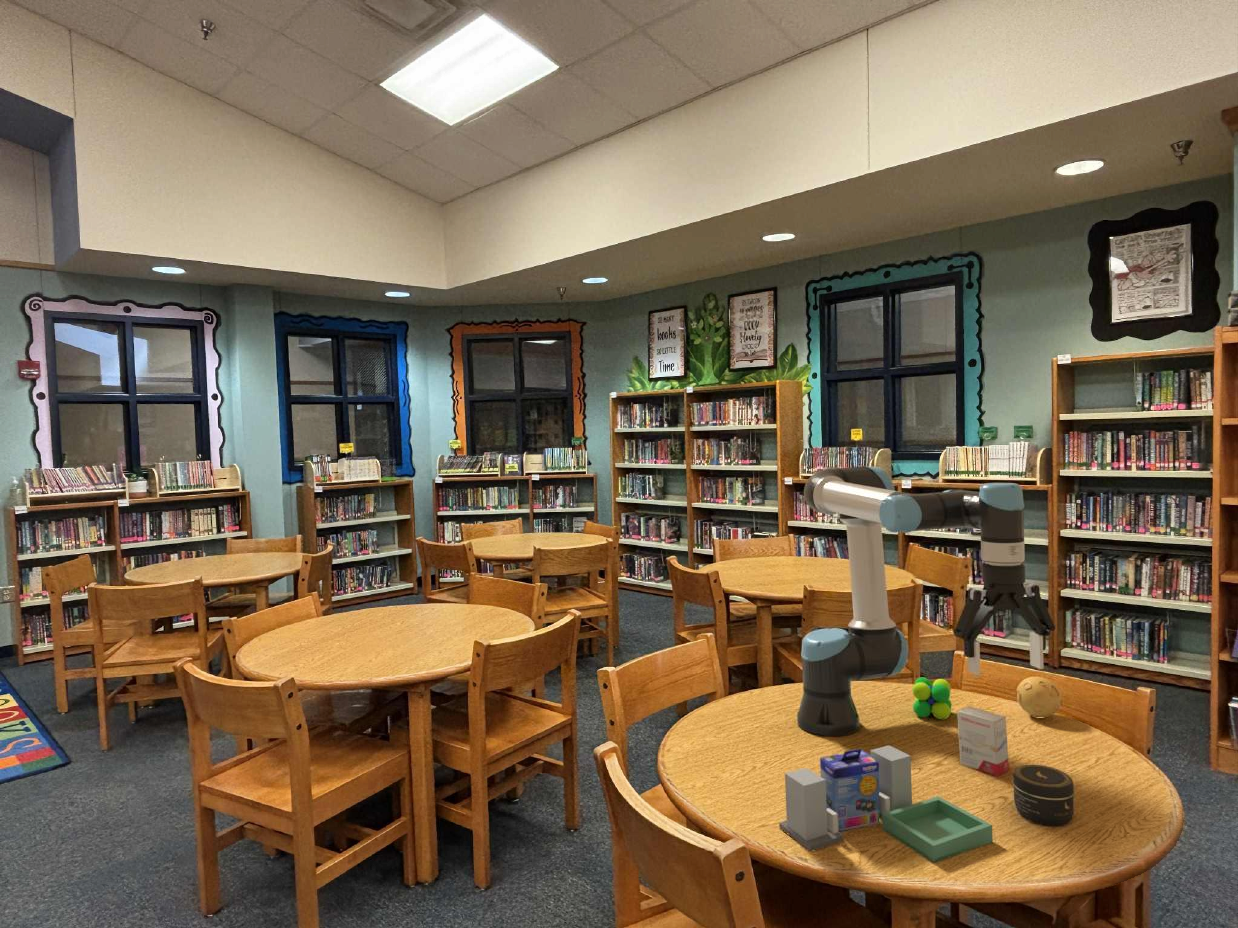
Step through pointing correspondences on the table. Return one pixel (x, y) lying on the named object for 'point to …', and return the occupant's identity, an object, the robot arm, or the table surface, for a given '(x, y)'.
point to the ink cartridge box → (852, 788)
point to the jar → (1043, 795)
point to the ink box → (983, 740)
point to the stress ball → (1038, 696)
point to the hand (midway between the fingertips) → (1005, 670)
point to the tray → (937, 828)
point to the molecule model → (932, 698)
